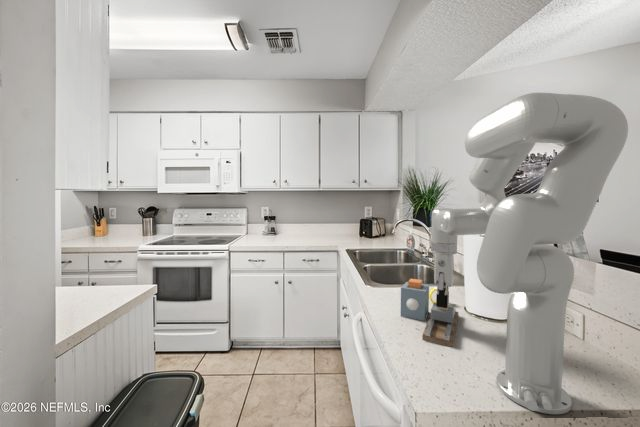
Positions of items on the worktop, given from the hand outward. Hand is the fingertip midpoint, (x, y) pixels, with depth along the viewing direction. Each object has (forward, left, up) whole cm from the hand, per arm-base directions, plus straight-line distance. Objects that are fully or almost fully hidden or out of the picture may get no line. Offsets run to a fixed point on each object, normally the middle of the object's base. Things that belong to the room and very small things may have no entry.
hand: (442, 304), depth 90 cm
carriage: (0, 0, -4) cm, 4 cm away
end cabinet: (+6, +9, -7) cm, 13 cm away
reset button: (+6, +9, +2) cm, 11 cm away
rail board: (0, 0, -7) cm, 7 cm away
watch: (+21, +4, -8) cm, 23 cm away
